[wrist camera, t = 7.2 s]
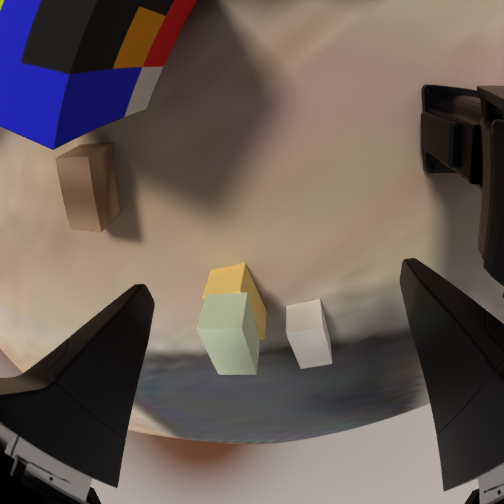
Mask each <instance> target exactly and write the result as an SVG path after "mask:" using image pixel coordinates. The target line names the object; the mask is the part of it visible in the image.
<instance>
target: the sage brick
mask: <svg viewBox="0 0 504 504" xmlns="http://www.w3.org/2000/svg"><path fill="white" fill-rule="evenodd" d="M197 331H198V334H199V336H200V338H201V340H202V342H203V344H204V346H205V348H206V350H207V352H208V354H209V356H210V358H211V360H212V362H213V364H214V366H215V368H216V370H217V372H218V374H226V375H257V366H258V356H259V345H260V340H259V336H258V332H257V328H256V324H255V320H254V316H253V312H252V309H251V305H250V301H249V297H248V293H247V292H242V293H226V294H207V295H206V298H205V302H204V305H203V308H202V312H201V315H200V319H199V322H198V325H197Z"/></svg>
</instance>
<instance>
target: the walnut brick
mask: <svg viewBox="0 0 504 504" xmlns="http://www.w3.org/2000/svg"><path fill="white" fill-rule="evenodd" d="M56 164H57V170H58V175H59V181H60V186H61V191H62V196H63V200H64V205H65V209H66V213H67V217H68V221H69V225H70V229H74V230H83V231H93V232H102V231H103V230H104V229H105V228H106V227H107V226H108V225H109V223H110V222H111V221H112V220H113V219H114V218H115V217H116V216H117V215H118V214H119V213H120V212H121V211H120V204H119V198H118V191H117V183H116V175H115V167H114V157H113V147H112V143H97V144H82V145H79V146H77V147H75V148H73V149H72V150H70V151H68V152H66V153H64V154H62V155H61V156H59V157H57V158H56Z"/></svg>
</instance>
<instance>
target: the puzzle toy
mask: <svg viewBox="0 0 504 504" xmlns="http://www.w3.org/2000/svg"><path fill="white" fill-rule="evenodd" d="M196 1H197V0H0V127H2V128H5V129H7V130H9V131H12V132H14V133H16V134H18V135H21V136H23V137H25V138H28V139H30V140H32V141H34V142H37V143H39V144H41V145H43V146H46V147H48V148H50V149H52V150H54V149H56V148H58V147H60V146H62V145H64V144H66V143H68V142H70V141H72V140H74V139H76V138H78V137H80V136H82V135H84V134H86V133H89V132H91V131H93V130H95V129H97V128H100V127H102V126H104V125H107V124H109V123H112V122H114V121H116V120H119V119H121V118H124V117H127V116H129V115H132V114H134V113H137V112H140V111H143V110H145V109H147V106H148V104H149V101H150V98H151V96H152V93H153V91H154V88H155V86H156V83H157V81H158V78H159V76H160V74H161V71H162V69H163V67H164V64H165V62H166V60H167V58H168V56H169V53H170V51H171V49H172V47H173V45H174V43H175V41H176V39H177V37H178V35H179V33H180V31H181V29H182V27H183V25H184V23H185V21H186V19H187V17H188V15H189V14H190V12H191V10H192V8H193V6H194V5H195V3H196Z"/></svg>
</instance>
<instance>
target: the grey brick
mask: <svg viewBox="0 0 504 504" xmlns="http://www.w3.org/2000/svg"><path fill="white" fill-rule="evenodd" d="M286 335H287V337H288V340H289V342H290V344H291V347H292V349H293V352H294V354H295V356H296V359H297V361H298V363H299V366H300V368H301V369H304V368H310V367H316V366H322V365H328V364H332V355H331V345H330V337H329V333H328V329H327V325H326V321H325V317H324V313H323V309H322V305H321V301H320V299H318V300H313V301H308V302H304V303H299V304H293V305H288V306H286Z"/></svg>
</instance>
